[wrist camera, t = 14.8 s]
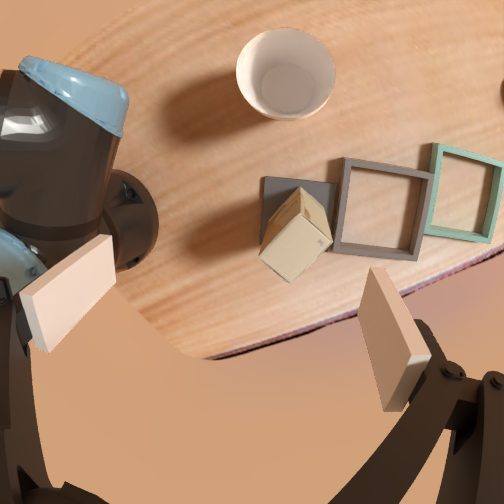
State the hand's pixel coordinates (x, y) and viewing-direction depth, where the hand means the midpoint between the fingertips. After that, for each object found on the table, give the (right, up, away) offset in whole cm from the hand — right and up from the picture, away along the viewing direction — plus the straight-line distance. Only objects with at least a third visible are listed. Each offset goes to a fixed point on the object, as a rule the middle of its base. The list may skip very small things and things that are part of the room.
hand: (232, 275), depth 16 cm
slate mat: (+7, +6, +26) cm, 27 cm away
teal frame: (+30, +9, +21) cm, 38 cm away
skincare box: (+6, +6, +25) cm, 27 cm away
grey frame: (+18, +7, +24) cm, 31 cm away
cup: (+5, +21, +20) cm, 30 cm away
